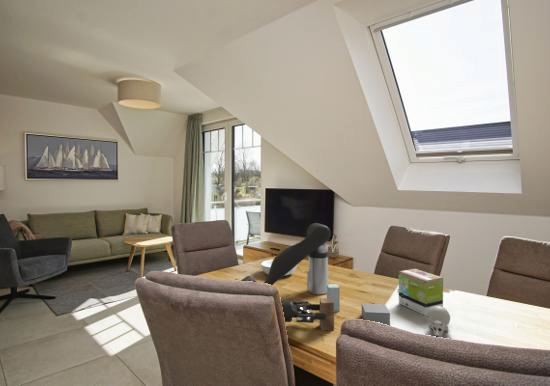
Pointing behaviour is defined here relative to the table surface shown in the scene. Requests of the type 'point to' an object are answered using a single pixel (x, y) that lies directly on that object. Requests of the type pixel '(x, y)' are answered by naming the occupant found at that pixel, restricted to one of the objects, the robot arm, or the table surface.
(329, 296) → the bluegrey block
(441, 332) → the round bodied animal figurine
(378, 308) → the grey block
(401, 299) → the tea box
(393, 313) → the table surface
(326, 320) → the walnut block
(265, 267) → the serving bowl
